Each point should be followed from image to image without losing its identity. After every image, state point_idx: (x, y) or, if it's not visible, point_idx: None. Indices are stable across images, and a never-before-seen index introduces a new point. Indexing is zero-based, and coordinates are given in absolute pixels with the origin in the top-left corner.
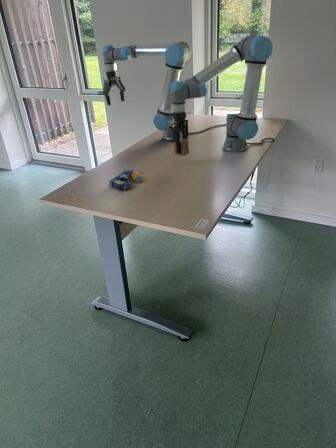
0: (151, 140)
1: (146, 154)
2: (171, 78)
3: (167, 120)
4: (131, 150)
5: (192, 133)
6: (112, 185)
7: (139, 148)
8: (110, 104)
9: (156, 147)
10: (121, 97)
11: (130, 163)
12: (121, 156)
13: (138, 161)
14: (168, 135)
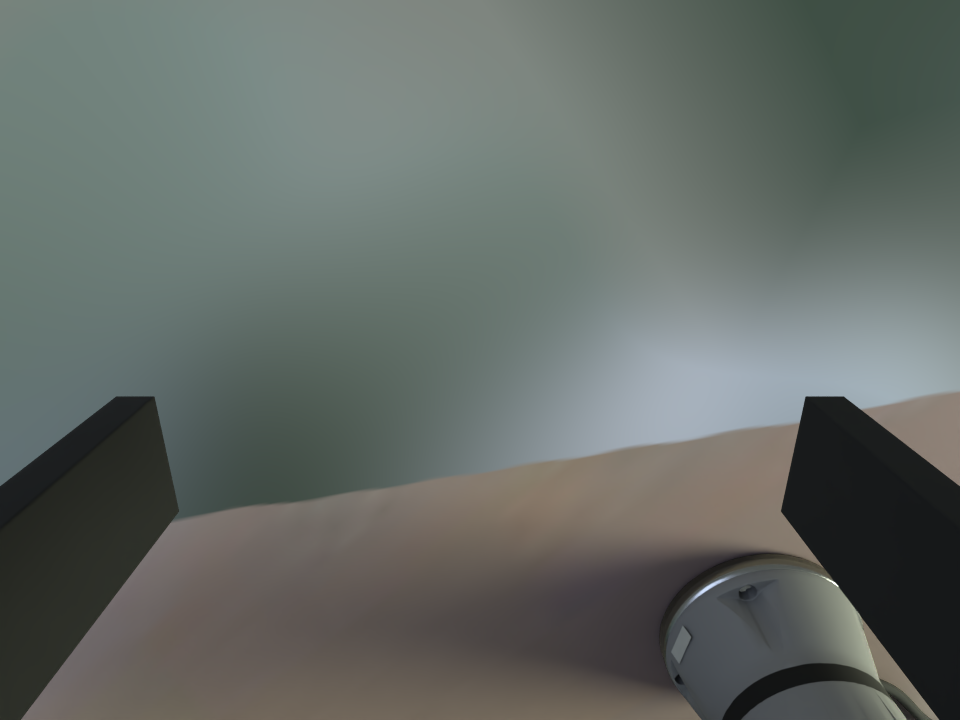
0: (619, 507)
1: (309, 675)
2: None
3: None
4: (307, 525)
5: (900, 701)
6: None
7: (384, 551)
8: (152, 526)
9: (474, 648)
10: (870, 508)
11: (110, 689)
12: (154, 549)
13: (173, 708)
14: (681, 676)
